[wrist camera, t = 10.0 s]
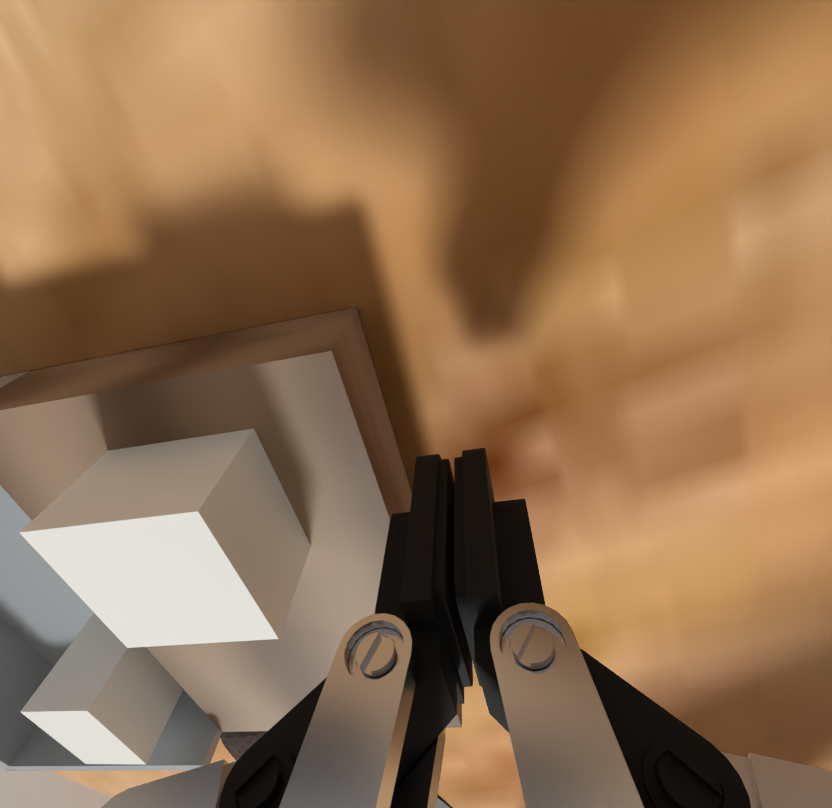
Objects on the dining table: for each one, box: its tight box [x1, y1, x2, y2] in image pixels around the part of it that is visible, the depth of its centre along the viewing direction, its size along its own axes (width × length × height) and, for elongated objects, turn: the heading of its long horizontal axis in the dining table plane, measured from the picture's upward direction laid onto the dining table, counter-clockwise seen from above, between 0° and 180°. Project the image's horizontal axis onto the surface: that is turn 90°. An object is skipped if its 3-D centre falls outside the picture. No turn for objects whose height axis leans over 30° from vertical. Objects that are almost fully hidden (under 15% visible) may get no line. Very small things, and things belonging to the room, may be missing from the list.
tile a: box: [20, 613, 183, 764], centre depth 20 cm, size 4×4×3 cm
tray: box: [0, 371, 222, 771], centre depth 19 cm, size 11×18×4 cm, turn 12°
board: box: [0, 307, 462, 732], centre depth 17 cm, size 12×18×3 cm, turn 12°
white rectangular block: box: [19, 429, 311, 648], centre depth 12 cm, size 4×4×3 cm
